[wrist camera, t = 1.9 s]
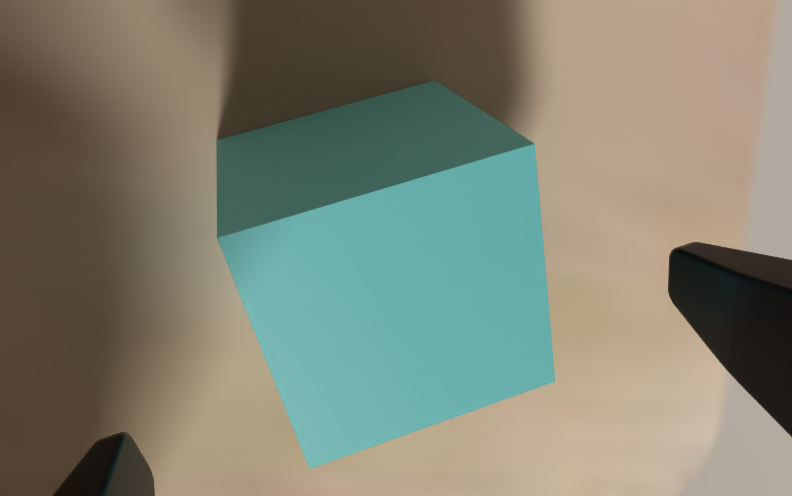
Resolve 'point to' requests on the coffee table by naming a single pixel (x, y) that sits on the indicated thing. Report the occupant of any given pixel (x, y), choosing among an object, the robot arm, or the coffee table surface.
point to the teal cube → (388, 264)
